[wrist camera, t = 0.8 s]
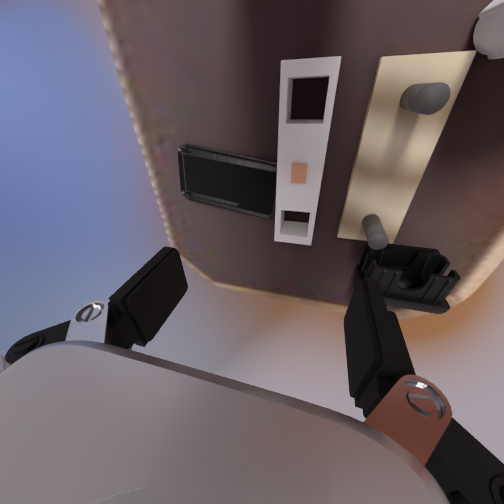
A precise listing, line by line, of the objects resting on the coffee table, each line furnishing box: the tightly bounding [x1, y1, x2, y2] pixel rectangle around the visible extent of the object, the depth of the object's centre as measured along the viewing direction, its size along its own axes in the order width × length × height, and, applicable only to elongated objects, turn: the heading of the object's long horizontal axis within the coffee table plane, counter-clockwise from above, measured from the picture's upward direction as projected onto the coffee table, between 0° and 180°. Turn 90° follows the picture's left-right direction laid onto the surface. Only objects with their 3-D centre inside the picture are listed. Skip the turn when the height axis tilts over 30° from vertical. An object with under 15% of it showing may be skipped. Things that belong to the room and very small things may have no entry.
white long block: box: [274, 56, 341, 245], centre depth 25 cm, size 19×5×4 cm, turn 1°
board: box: [337, 50, 477, 250], centre depth 22 cm, size 19×7×6 cm, turn 1°
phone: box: [178, 144, 277, 218], centre depth 31 cm, size 8×1×15 cm
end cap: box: [354, 243, 460, 314], centre depth 29 cm, size 10×7×7 cm
